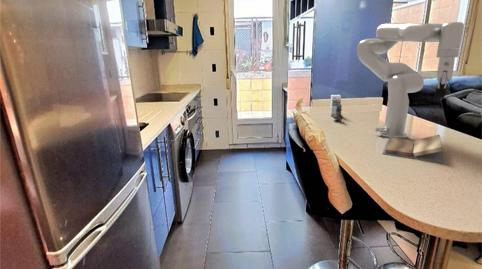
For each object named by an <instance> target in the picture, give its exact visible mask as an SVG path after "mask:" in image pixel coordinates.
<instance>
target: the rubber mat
mask: <svg viewBox="0 0 482 269" xmlns="http://www.w3.org/2000/svg"><path fill="white" fill-rule="evenodd" d="M388 142H389V139H387V141H386V144H385V146H384V149H383V152H382V155H386V156H387V155H389V156H395V157H400V158H406V159H407V158H408V159H412V160H419V161H426V162H432V163H438V164H445V158H444V154H443V153H444V152H443V151H439V152H434V153H430V154H425V155H420V156H414V154H413V152H412V157H410V156H403V155H397V154H390V153H385V150H386V147H387V144H388ZM413 150H414V142H413Z"/></svg>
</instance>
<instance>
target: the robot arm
mask: <svg viewBox="0 0 482 269" xmlns="http://www.w3.org/2000/svg"><path fill="white" fill-rule="evenodd" d="M464 29H465V23H463V22H461V21H454V22H453V21H452V22H445V23H430V22H429V23H427V22H426V23H424V22H423V23H409V22H388V23H386V22H385V23H382V24H380V25H379V26H378V27H377V29H376V31H375V35H376V37H377V38H365V39H362V40H361V41H359V42H358V43H357V47H356V54H357V58H358V60H359V61H360V63H362V65H364V66H365V67H366V68H368V69H369V70H370V72H372V73H373V74H374V75H375V76H376V77H377V78H379V79H380V80H381V81H383V82H388V83H387V91H388V92H387V93H388V94H387V95H388V96H387V104H386V114H385V120H384V125H382V127H374V132H379V134H380V136H382V137H385V138H388V139H390V138H398V139H407V138H408V133H406V132H405V131H406V125H407V121H408V119H407V117H408V114H409V113H408V112H409V106H410V105H409V104H410V99H409V95H408V94H409V93H410V94H411V93H412V94H413V93H417V92H419V91H421V90H422V89H423V87H424V85H425V81H424V78H423V76H422V75H421V74H420V73H418V72H417V71H416V70H414V68H412V67H410V66H409V65H408V64H406V63H404V62H389V61H387V59H385V57H383V56H381V55H384V54H385V53H387V52H388V51H390V50H391V49H392V48H393V47H394V46H395V45H396V44H397V43H399V42H400V43H401V42H402V43H403V42H404V43H405V42H414V43H415V42H416V43H438V45H437V52H436V58H438V59H439V60H438V65H437V71H436V80H437V87H436V90H435V94H434V97H435V98H436V99H437V98H438V99H444V98H445V96H446V90H447V82H449V83H450V82H452V78H453V72H454V67H455V60H456V58H459V54H460V48H461V43H462V39H463V33H464Z"/></svg>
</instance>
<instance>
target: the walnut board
mask: <svg viewBox="0 0 482 269" xmlns="http://www.w3.org/2000/svg"><path fill="white" fill-rule="evenodd" d="M388 140H389V142H388V144H387V147H386V150H385V153H390V154H397V155H403V156H410V157H412V152H413V143H414V140H412V139H407V138H403V139H398V138H388Z"/></svg>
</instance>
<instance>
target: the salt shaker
mask: <svg viewBox="0 0 482 269" xmlns="http://www.w3.org/2000/svg"><path fill="white" fill-rule="evenodd" d="M343 117H344V115H342V104H341V103H339V104H338V105H337V109H336V115H334V117H333V119H334V120H333V122H334V123H343V121H342V119H344V118H343Z"/></svg>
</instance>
